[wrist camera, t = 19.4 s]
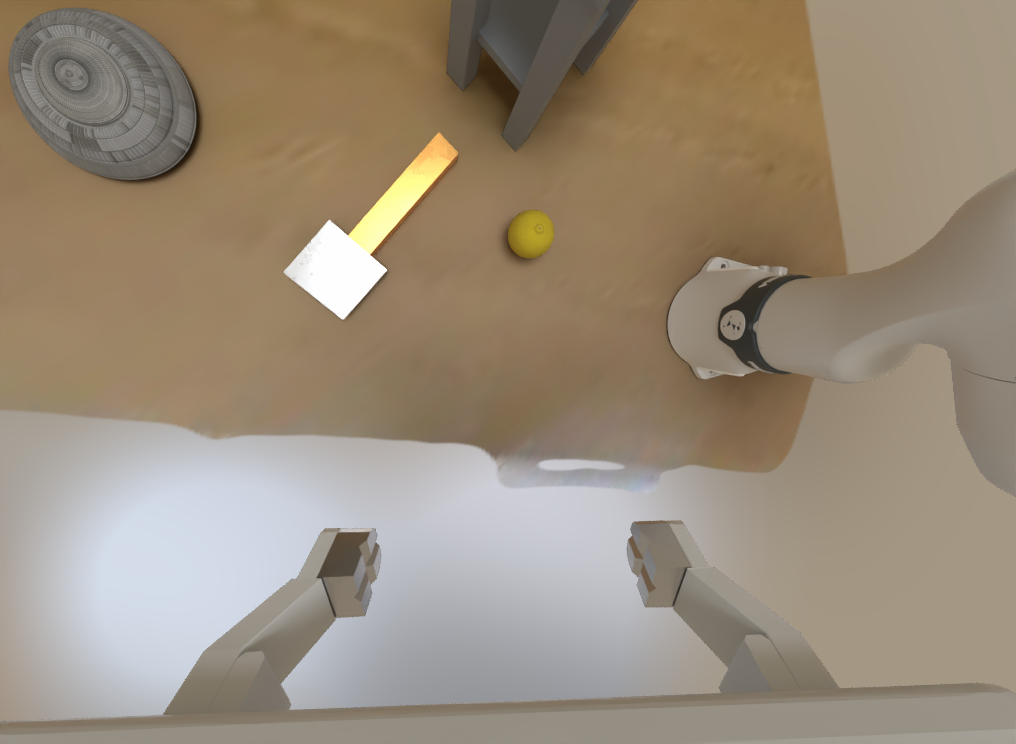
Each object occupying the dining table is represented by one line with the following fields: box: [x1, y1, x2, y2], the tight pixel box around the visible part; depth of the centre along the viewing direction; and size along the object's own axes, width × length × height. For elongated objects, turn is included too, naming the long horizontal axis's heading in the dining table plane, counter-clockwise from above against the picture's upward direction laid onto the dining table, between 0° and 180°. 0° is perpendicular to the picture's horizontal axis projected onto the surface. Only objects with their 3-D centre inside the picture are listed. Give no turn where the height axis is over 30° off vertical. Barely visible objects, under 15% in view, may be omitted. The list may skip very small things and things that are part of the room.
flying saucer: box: [9, 8, 196, 180], centre depth 34 cm, size 15×15×6 cm
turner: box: [283, 133, 458, 320], centre depth 43 cm, size 24×8×2 cm, turn 137°
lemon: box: [508, 210, 554, 259], centre depth 44 cm, size 6×6×8 cm
